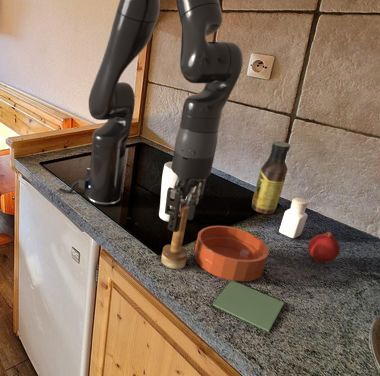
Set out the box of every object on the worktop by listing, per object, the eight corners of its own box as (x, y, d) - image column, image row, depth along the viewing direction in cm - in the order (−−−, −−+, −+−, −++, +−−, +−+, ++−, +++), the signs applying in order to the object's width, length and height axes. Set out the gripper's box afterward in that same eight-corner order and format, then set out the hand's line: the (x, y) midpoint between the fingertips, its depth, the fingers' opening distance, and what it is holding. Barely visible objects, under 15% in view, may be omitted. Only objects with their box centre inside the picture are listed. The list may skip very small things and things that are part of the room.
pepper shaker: (286, 228, 105) (296, 195, 101) (301, 235, 102) (313, 201, 98) (277, 232, 103) (287, 199, 99) (293, 239, 100) (304, 205, 96)
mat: (212, 305, 77) (212, 303, 77) (231, 281, 84) (231, 279, 84) (268, 332, 71) (269, 330, 71) (283, 304, 78) (284, 302, 78)
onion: (307, 251, 95) (318, 222, 92) (336, 262, 91) (348, 232, 88) (300, 261, 91) (311, 231, 88) (329, 273, 88) (342, 242, 84)
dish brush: (156, 262, 90) (166, 206, 84) (167, 252, 93) (177, 198, 87) (178, 272, 87) (190, 214, 81) (189, 261, 90) (201, 206, 84)
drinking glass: (179, 213, 111) (188, 162, 105) (184, 225, 105) (194, 172, 98) (154, 211, 111) (162, 160, 105) (157, 223, 105) (166, 170, 99)
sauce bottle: (252, 202, 118) (270, 137, 109) (276, 209, 114) (296, 142, 106) (248, 211, 113) (266, 143, 104) (272, 218, 110) (293, 148, 101)
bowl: (182, 263, 89) (187, 242, 87) (208, 239, 99) (212, 219, 97) (250, 293, 81) (256, 270, 79) (270, 262, 91) (277, 241, 88)
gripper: (191, 137, 86) (178, 207, 93) (159, 154, 76) (147, 230, 83) (227, 146, 81) (211, 218, 88) (197, 164, 72) (182, 244, 79)
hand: (180, 224), depth 86 cm, fingers open, 6 cm apart
